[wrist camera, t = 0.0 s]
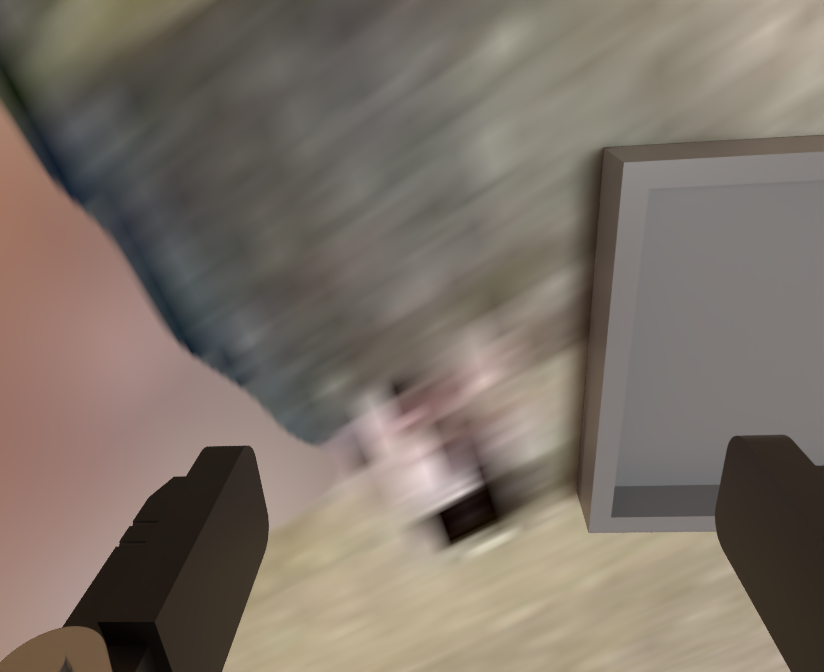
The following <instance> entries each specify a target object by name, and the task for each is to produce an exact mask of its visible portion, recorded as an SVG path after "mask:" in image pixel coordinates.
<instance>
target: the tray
mask: <svg viewBox="0 0 824 672" xmlns="http://www.w3.org/2000/svg"><path fill="white" fill-rule="evenodd" d="M743 435H787V436H788V437H790V438H791V439H792V440H793V441H794V442H795V443H796V444H797V446H798V447H799V448H800V449H801V450H802V451H803V452H804V453H805V454H806V456H807V457H808V458H809V459H810V460H811V461H812V462H813V463H814V464H815V466H822V465H824V135H813V136H795V137H778V138H761V139H743V140H726V141H708V142H691V143H673V144H656V145H638V146H621V147H604V154H603V167H602V179H601V192H600V205H599V217H598V230H597V242H596V255H595V267H594V280H593V293H592V305H591V318H590V330H589V343H588V356H587V368H586V381H585V393H584V406H583V419H582V431H581V444H580V456H579V469H578V482H577V494H578V497H579V501H580V504H581V508H582V511H583V515H584V518H585V522H586V525H587V529H588V532H589V533H626V532H711V531H716V525H715V507H716V502H717V497H718V492H719V487H720V481H721V476H722V471H723V466H724V461H725V456H726V451H727V446H728V443H729V441H730V440H731V438H732V437H734V436H743Z"/></svg>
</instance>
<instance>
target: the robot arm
mask: <svg viewBox="0 0 824 672" xmlns="http://www.w3.org/2000/svg"><path fill="white" fill-rule="evenodd" d="M715 525H716V531H717V535H718V539H719V542H720V544H721V547H722V549H723V551H724V553H725V554H726V556H727V558H728V560H729V562H730V563H731V565H732V567H733V569H734V571H735V572H736V574H737V576H738V578H739V579H740V581H741V583H742V585H743V587H744V588H745V590H746V592H747V594H748V596H749V597H750V599H751V601H752V603H753V605H754V606H755V608H756V610H757V612H758V613H759V615H760V617H761V619H762V621H763V622H764V624H765V626H766V628H767V630H768V631H769V633H770V635H771V637H772V639H773V640H774V642H775V644H776V646H777V648H778V649H779V651H780V653H781V655H782V656H783V658H784V660H785V662H786V664H787V665H788V667H789V669H790V671H791V672H824V465H822V466H815V464H814V463H813V462H812V461H811V460H810V459H809V458H808V457H807V456H806V454H805V453H804V452H803V451H802V450H801V449H800V448H799V447H798V446H797V444H796V443H795V442H794V441H793V440H792V439H791V438H790V437H788V436H787V435H743V436H734V437H732V438H731V440H730V441H729V443H728V446H727V451H726V456H725V461H724V466H723V471H722V476H721V481H720V487H719V492H718V497H717V502H716V507H715ZM268 531H269V522H268V513H267V508H266V503H265V499H264V494H263V489H262V485H261V480H260V475H259V471H258V466H257V461H256V457H255V453H254V451H253V449H252V448H251V447H250V446H214V447H205V448H204V449H203V450H202V451H201V453H200V455H199V456H198V458H197V459H196V461H195V463H194V464H193V466H192V467H191V469H190V471H189V472H188V474H187V476H186V477H173V478H172V479H171V480H169V481H168V482H167V483H166V484H165V485H163V486H162V487H161V488H160V489H158V490H157V491H156V492H155V493H154V494H153V495H151V496H150V497H149V498H148V499H147V501H146V502H145V504H144V505H143V507H142V508H141V510H140V511H139V513H138V514H137V516H136V517H135V519H134V520H133V526H129V528H128V529H127V531H126V532H125V534H124V535H123V537H122V538H121V540H120V544H119V547H115V549H114V550H113V552H112V553H111V555H110V556H109V558H108V560H107V561H106V562H105V564H104V565H103V567H102V569H101V570H100V572H99V573H98V574H97V576H96V578H95V579H94V581H93V582H92V584H91V585H90V587H89V588H88V589H87V591H86V593H85V594H84V596H83V597H82V598H81V600H80V601H79V603H78V605H77V606H76V607H75V609H74V610H73V612H72V614H71V615H70V617H69V618H68V620H67V621H66V623H65V624H64V625H63V627H62V628H59V629H55V630H51V631H48V632H46V633H43V634H41V635H39V636H37V637H35V638H33V639H31V640H29V641H27V642H26V643H24V644H22V645H21V646H19V647H18V648H16V649H15V650H14V651H13V652H11V653H10V654H9V655H7V656H6V657H5V658H4V659H3V660H2V661H1V662H0V672H222V670H223V667H224V664H225V662H226V659H227V656H228V653H229V650H230V648H231V645H232V642H233V639H234V637H235V634H236V631H237V628H238V625H239V623H240V620H241V617H242V614H243V612H244V609H245V606H246V603H247V600H248V598H249V595H250V592H251V589H252V587H253V584H254V581H255V578H256V575H257V573H258V570H259V567H260V564H261V562H262V559H263V556H264V553H265V550H266V546H267V541H268Z"/></svg>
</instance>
